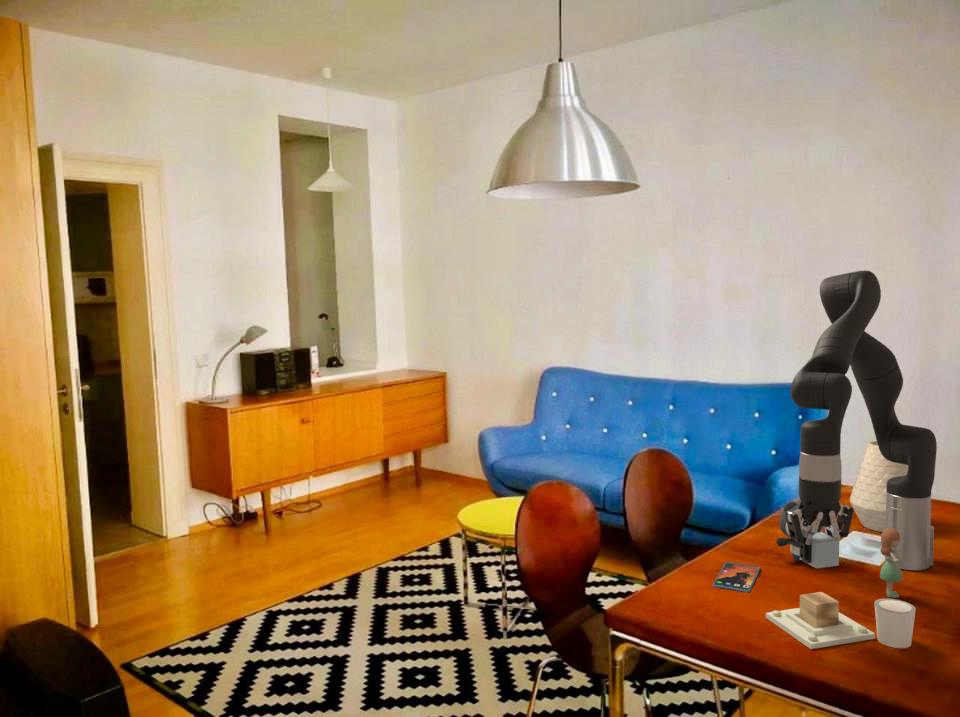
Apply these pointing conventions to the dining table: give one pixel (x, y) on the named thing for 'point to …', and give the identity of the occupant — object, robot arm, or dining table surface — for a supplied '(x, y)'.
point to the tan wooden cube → (819, 610)
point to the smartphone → (737, 577)
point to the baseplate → (819, 629)
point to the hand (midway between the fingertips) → (818, 559)
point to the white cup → (894, 622)
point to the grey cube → (824, 551)
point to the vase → (874, 487)
